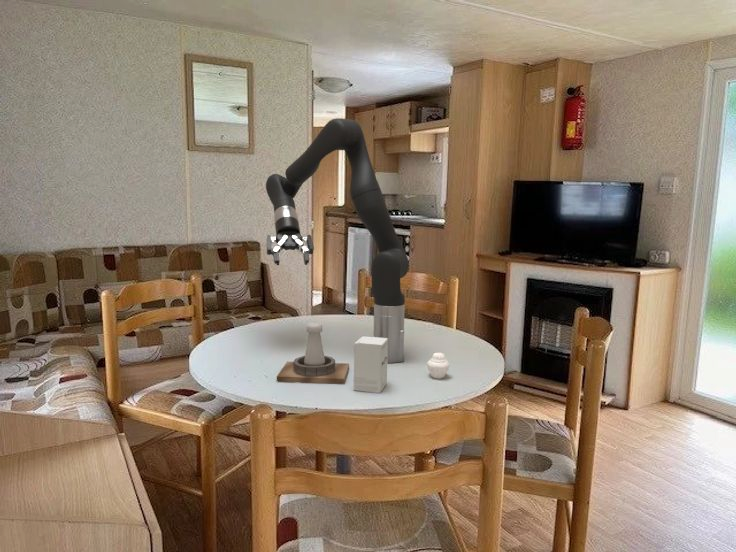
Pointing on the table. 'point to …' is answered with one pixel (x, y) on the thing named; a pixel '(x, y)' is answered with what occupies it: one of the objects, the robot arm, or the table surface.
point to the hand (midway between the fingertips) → (292, 263)
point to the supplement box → (370, 364)
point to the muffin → (438, 365)
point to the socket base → (314, 372)
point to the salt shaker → (314, 346)
